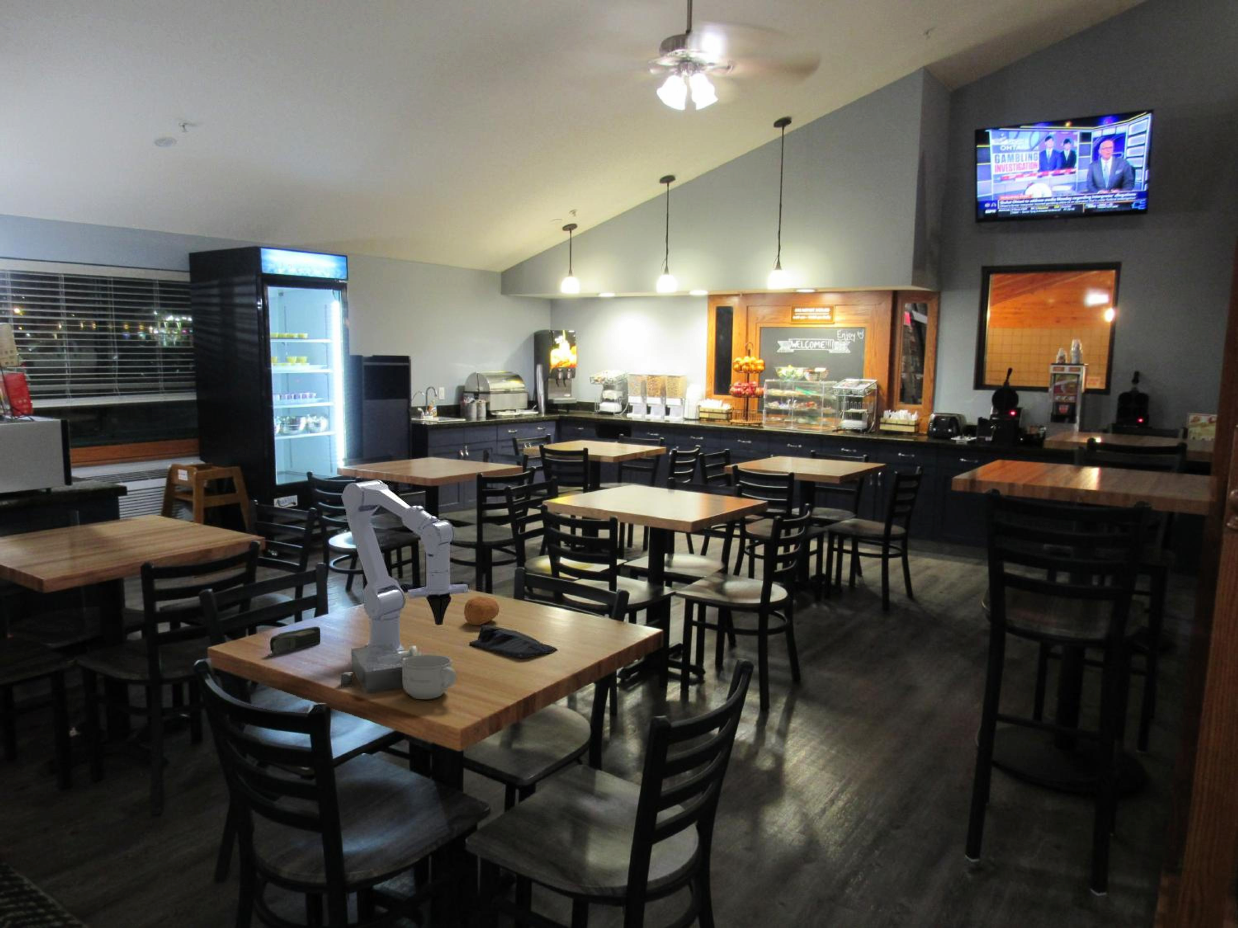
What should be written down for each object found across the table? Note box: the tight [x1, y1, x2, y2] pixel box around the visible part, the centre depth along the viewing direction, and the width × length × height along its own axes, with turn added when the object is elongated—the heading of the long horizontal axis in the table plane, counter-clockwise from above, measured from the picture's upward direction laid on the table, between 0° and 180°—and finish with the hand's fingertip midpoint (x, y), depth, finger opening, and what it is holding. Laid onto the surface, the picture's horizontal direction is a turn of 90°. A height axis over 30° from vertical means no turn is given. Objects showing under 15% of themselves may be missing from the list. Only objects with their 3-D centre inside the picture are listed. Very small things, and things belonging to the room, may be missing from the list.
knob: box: [398, 645, 418, 658], centre depth 206 cm, size 4×8×4 cm, turn 118°
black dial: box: [339, 671, 354, 687], centre depth 194 cm, size 3×3×3 cm
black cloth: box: [469, 624, 558, 659], centre depth 222 cm, size 15×22×5 cm
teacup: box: [402, 654, 457, 700], centre depth 187 cm, size 14×11×8 cm
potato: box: [463, 595, 500, 626], centre depth 244 cm, size 9×11×8 cm
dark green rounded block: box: [267, 626, 321, 658], centre depth 218 cm, size 5×3×15 cm
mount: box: [350, 644, 404, 694], centre depth 199 cm, size 18×10×5 cm, turn 27°
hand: (438, 624), depth 210 cm, fingers closed
